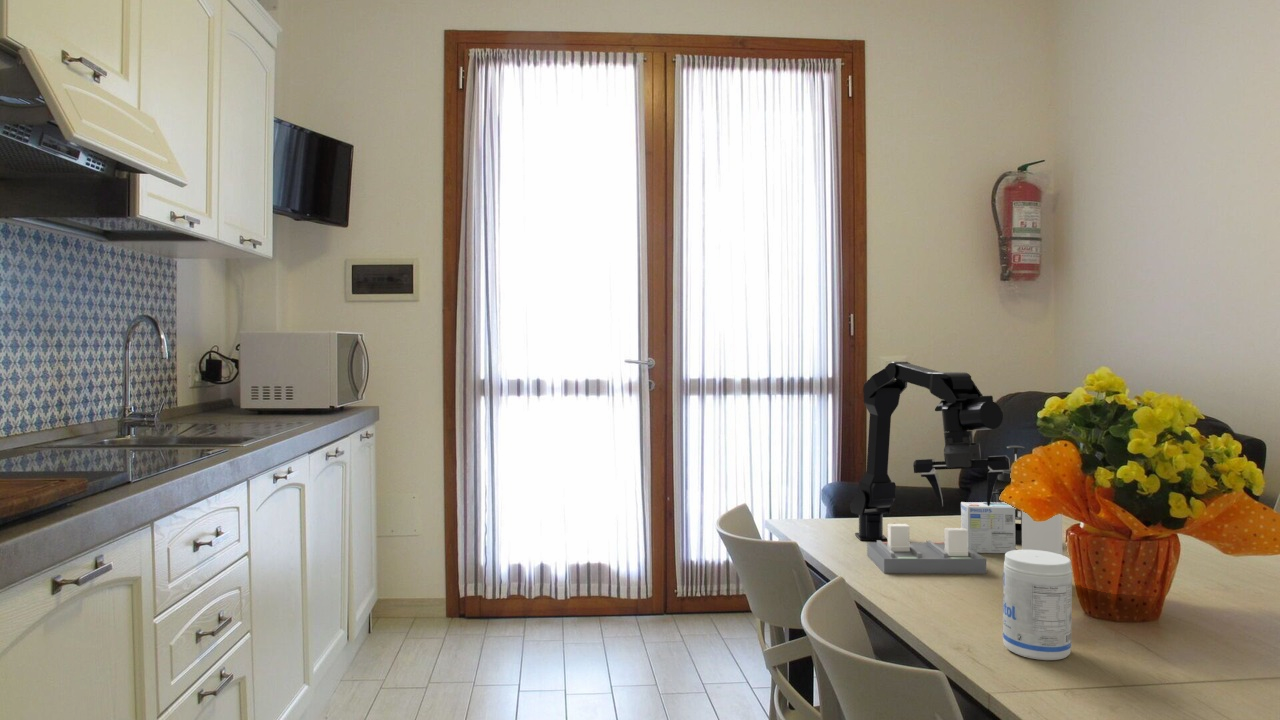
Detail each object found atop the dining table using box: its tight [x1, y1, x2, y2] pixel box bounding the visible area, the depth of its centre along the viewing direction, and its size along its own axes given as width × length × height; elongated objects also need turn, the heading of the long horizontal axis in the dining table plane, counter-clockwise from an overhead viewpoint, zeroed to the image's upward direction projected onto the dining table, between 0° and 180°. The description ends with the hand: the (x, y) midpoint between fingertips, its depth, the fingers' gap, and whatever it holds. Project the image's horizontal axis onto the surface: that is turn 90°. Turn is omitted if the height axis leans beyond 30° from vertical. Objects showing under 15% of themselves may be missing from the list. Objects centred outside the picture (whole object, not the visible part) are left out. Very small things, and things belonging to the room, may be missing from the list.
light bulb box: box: [960, 501, 1016, 554], centre depth 193 cm, size 11×7×11 cm, turn 84°
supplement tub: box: [1002, 549, 1073, 661], centre depth 128 cm, size 10×10×15 cm
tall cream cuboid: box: [944, 527, 968, 556], centre depth 176 cm, size 3×4×5 cm
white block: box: [887, 523, 910, 552], centre depth 181 cm, size 3×4×5 cm
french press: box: [991, 445, 1026, 546], centre depth 202 cm, size 12×9×23 cm
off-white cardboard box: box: [1021, 511, 1063, 555], centre depth 165 cm, size 7×7×19 cm
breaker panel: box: [866, 539, 987, 575], centre depth 181 cm, size 15×21×4 cm
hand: (965, 506), depth 174 cm, fingers open, 9 cm apart
